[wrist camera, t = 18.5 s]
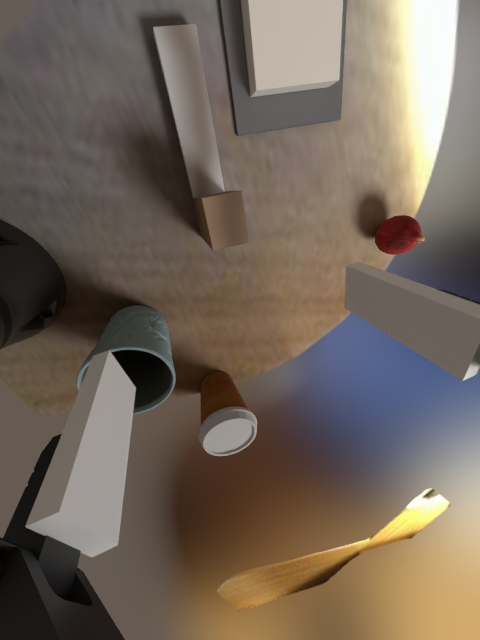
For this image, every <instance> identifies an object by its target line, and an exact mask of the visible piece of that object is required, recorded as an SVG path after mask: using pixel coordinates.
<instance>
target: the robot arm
mask: <svg viewBox="0 0 480 640" xmlns="http://www.w3.org/2000/svg"><path fill="white" fill-rule="evenodd" d="M65 297H66V288H65V282H64V279H63V276H62V273H61V271H60V269H59V267H58V266H57V264H56V262H55V261H54V260H53V258H52V257H51V256H50V255H49V253H48V252H47V251H46V250H45V249H44V248H43V247H42V246H41V245H40V244H38V243H37V242H36V241H35V240H34V239H32V238H31V237H30V236H28V235H27V234H25V233H24V232H22V231H20V230H19V229H17V228H15V227H13V226H11V225H9V224H7V223H5V222H2V221H0V349H1V348H4V347H7V346H9V345H12V344H14V343H17V342H20V341H22V340H25V339H27V338H30V337H32V336H34V335H36V334H38V333H40V332H41V331H43V330H44V329H45V328H47V327H48V326H49V325H50V324H51V323H52V322H53V320H54V319H55V318H56V317H57V316H58V315H59V313H60V312H61V310H62V308H63V306H64V303H65ZM345 308H346V309H348V310H350V311H351V312H353V313H354V314H356V315H358V316H359V317H361V318H363V319H364V320H366V321H367V322H369V323H371V324H372V325H374V326H375V327H377V328H378V329H380V330H382V331H383V332H385V333H386V334H388V335H390V336H391V337H393V338H394V339H396V340H398V341H399V342H401V343H403V344H404V345H406V346H407V347H409V348H411V349H412V350H414V351H415V352H417V353H419V354H420V355H422V356H424V357H425V358H427V359H428V360H430V361H432V362H433V363H435V364H436V365H438V366H439V367H441V368H443V369H444V370H446V371H448V372H449V373H451V374H452V375H454V376H455V377H457V378H459V379H460V380H462V381H464V380H466V379H468V378H470V377H472V376H474V375H476V374H478V373H479V371H480V302H477V301H474V300H470V299H468V298H466V297H463V296H460V297H459V296H458V295H457V294H454V293H451V292H448V291H445V290H440V289H434V288H431V287H428V286H425V285H422V284H420V283H417V282H414V281H411V280H408V279H405V278H403V277H400V276H397V275H394V274H391V273H388V272H386V271H383V270H380V269H377V268H374V267H371V266H369V265H366V264H363V263H360V262H356V263H353V264H350V265H347V266H346V287H345ZM135 392H136V387H135V386H134V384H133V383H132V382H131V380H130V379H129V377H128V376H127V374H126V373H125V372H124V370H123V369H122V367H121V366H120V365H119V363H118V362H117V360H116V359H115V357H114V356H113V355H112V353H111V352H110V350H108V351H106V352H103V353H100V354H97V355H94V356H93V357H92V360H91V362H90V365H89V367H88V370H87V372H86V375H85V377H84V380H83V382H82V385H81V388H80V390H79V393H78V395H77V398H76V400H75V403H74V405H73V408H72V410H71V413H70V415H69V418H68V420H67V423H66V425H65V428H64V430H63V433H62V434H60V435H58V436H55V437H53V438H52V440H51V441H50V442H49V444H48V445H47V446H46V447H45V449H44V450H43V451H42V453H41V455H40V457H39V459H38V461H37V463H36V466H35V468H34V472H33V473H32V475H31V477H30V479H29V482H28V486H27V487H26V488H25V490H24V492H23V495H22V497H21V499H20V501H19V504H18V506H17V508H16V510H15V513H14V515H13V517H12V519H11V521H10V524H9V526H8V528H7V531H6V533H5V535H4V537H3V538H0V640H125V639H124V638H123V636H122V634H121V633H120V631H119V630H118V628H117V626H116V625H115V623H114V621H113V620H112V618H111V617H110V615H109V613H108V612H107V610H106V608H105V607H104V605H103V604H102V602H101V600H100V599H99V597H98V595H97V594H96V592H95V591H94V589H93V587H92V586H91V584H90V582H89V581H88V579H87V577H86V576H85V574H84V573H83V571H81V570H80V569H79V568H77V565H78V561H79V556H80V552H81V553H84V554H86V555H88V556H90V557H94V556H96V555H98V554H100V553H102V552H104V551H107V550H109V549H111V548H113V547H115V546H117V545H118V540H119V531H120V522H121V514H122V504H123V496H124V488H125V479H126V469H127V460H128V453H129V444H130V435H131V427H132V418H133V409H134V401H135Z"/></svg>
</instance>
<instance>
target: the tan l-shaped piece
mask: <svg viewBox="0 0 480 640" xmlns="http://www.w3.org/2000/svg"><path fill="white" fill-rule="evenodd" d="M153 33H154V40H155V44H156V48H157V52H158V56H159V60H160V65H161V69H162V73H163V77H164V81H165V86H166V90H167V94H168V98H169V102H170V106H171V111H172V115H173V119H174V123H175V127H176V131H177V136H178V140H179V144H180V148H181V152H182V157H183V161H184V165H185V169H186V173H187V177H188V182H189V186H190V190H191V194H192V198H193V202H194V207H195V211H196V215H197V219H198V223H199V228H200V232H201V236H202V238H203V239H204V241H205V242H206V243H207V244H208V245H209V246H210V248H211V249H212V250H213V251H214V250H219V249H223V248H227V247H231V246H235V245H240V244H244V243H248V235H247V228H246V220H245V213H244V206H243V199H242V192H241V191H226V192H225V191H224V185H223V179H222V173H221V167H220V162H219V156H218V150H217V144H216V138H215V133H214V127H213V121H212V115H211V109H210V104H209V98H208V92H207V86H206V80H205V75H204V69H203V63H202V57H201V51H200V46H199V40H198V34H197V28H196V24H187V25H173V26H160V27H153Z"/></svg>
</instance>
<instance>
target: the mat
mask: <svg viewBox="0 0 480 640" xmlns="http://www.w3.org/2000/svg"><path fill="white" fill-rule="evenodd" d="M219 3H220V10H221V18H222V25H223V33H224V41H225V48H226V56H227V63H228V71H229V78H230V86H231V94H232V101H233V109H234V116H235V124H236V131H237V136H239V135H246V134H252V133H258V132H265V131H271V130H278V129H284V128H290V127H297V126H303V125H310V124H316V123H322V122H329V121H335V120H340V119H341V104H342V85H343V66H344V46H345V27H346V8H347V0H343V12H342V34H341V55H340V77H339V81H337V82H336V83H334V84H333V85H331V86H330V87H326V88H318V89H310V90H303V91H295V92H287V93H279V94H272V95H264V96H256V97H250V87H249V77H248V67H247V58H246V48H245V38H244V28H243V18H242V8H241V0H219Z"/></svg>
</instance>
